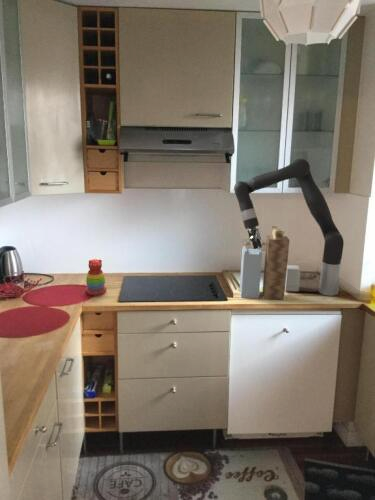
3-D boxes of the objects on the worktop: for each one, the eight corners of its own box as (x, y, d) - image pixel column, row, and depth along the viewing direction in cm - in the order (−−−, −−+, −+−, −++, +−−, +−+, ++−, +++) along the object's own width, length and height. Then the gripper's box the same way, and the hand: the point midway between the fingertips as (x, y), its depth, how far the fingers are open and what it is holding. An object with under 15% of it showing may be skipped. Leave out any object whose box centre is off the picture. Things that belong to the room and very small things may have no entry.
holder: (256, 291, 233) (259, 246, 226) (258, 298, 223) (262, 251, 216) (239, 290, 233) (242, 245, 226) (241, 297, 223) (244, 251, 217)
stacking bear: (106, 287, 232) (105, 256, 227) (107, 294, 222) (106, 261, 217) (85, 289, 229) (84, 256, 224) (85, 296, 220) (83, 262, 215)
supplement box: (298, 291, 234) (301, 269, 230) (285, 291, 234) (287, 269, 230) (295, 286, 241) (298, 265, 237) (282, 286, 241) (284, 264, 238)
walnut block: (281, 295, 228) (286, 236, 219) (283, 300, 221) (289, 239, 212) (262, 294, 228) (266, 235, 219) (264, 299, 221) (269, 239, 212)
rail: (278, 232, 227) (279, 224, 226) (283, 239, 212) (284, 231, 211) (269, 232, 227) (270, 224, 226) (274, 239, 212) (275, 230, 211)
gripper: (253, 216, 219) (262, 247, 218) (259, 216, 232) (267, 245, 232) (239, 220, 222) (248, 251, 221) (246, 220, 235) (254, 249, 234)
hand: (258, 248), depth 226 cm, fingers open, 8 cm apart
